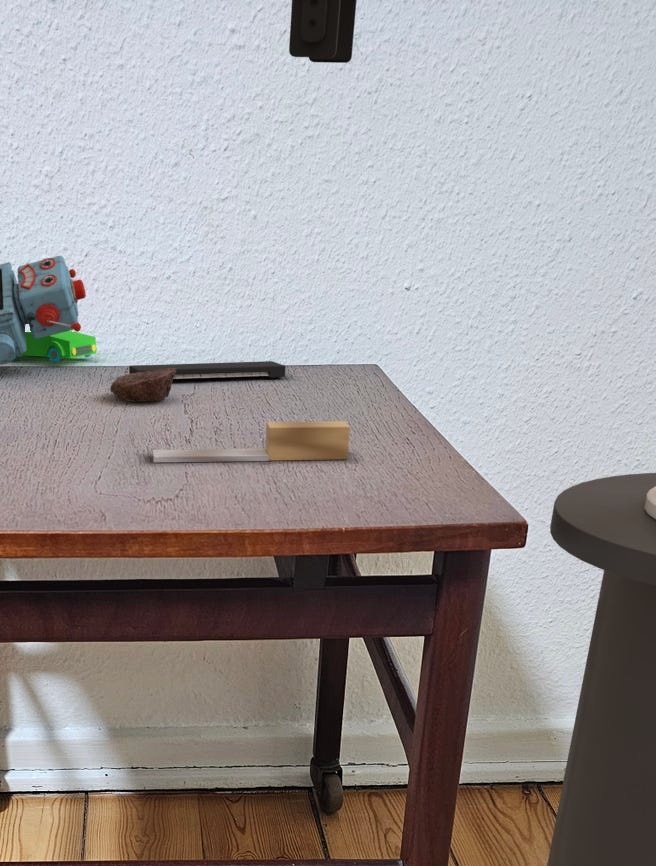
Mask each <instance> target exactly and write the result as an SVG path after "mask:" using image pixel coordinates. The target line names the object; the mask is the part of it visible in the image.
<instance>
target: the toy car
mask: <svg viewBox="0 0 656 866" xmlns="http://www.w3.org/2000/svg"><path fill="white" fill-rule="evenodd" d="M72 331H73V330H71V331H66V332H62V333H58V334H54V335H50V336H46V337H42V338H38V339H36V338H34V337H33V335H32V332H26V352H25V353H22V354H18V355H15V357H14V359H13V360H16V359H17V358H18V356H30V357H44V358H48V359H49V360H50V361H51V362H52V363H58V362H59V361H60V360H61V359H74V358H81V357H84V358H90V357H91V356H93V355H96V354H97V351H98V348H97V339H96V338H97V337H96V336H93V335H90V334H85V333H82V332H79V331H78V332H77V331H74V332H72Z"/></svg>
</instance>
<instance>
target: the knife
mask: <svg viewBox="0 0 656 866" xmlns="http://www.w3.org/2000/svg"><path fill="white" fill-rule="evenodd" d="M350 432H351V426H350V425H349V424H348V422H346V421H345V420H344V421H343V420H341V421H340V420H339V421H337V420H336V421H335V420H333V421H326V420H325V421H267V422H266V423H265V448H222V449H221V448H210V449H209V448H207V449H206V448H205V449H152V450H151V451H152V461H153V463H156V464H157V463H212V462H213V463H223V462H224V463H227V462H230V463H231V462H233V463H236V462H237V463H238V462H269V461H337V460H338V461H339V460H340V461H343V460H346V461H347V460H348V457H349V447H350V445H349V444H350V434H351V433H350Z"/></svg>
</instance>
